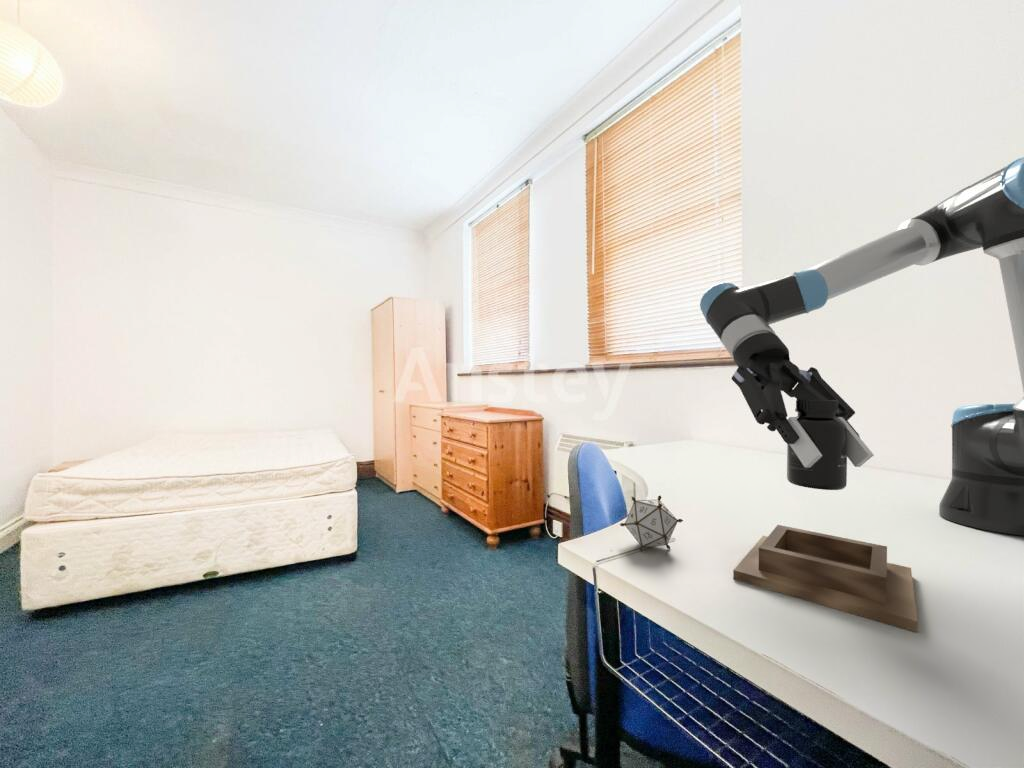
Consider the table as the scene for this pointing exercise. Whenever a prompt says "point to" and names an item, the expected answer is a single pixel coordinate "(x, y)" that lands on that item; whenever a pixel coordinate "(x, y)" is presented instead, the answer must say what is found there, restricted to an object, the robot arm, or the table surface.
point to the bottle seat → (832, 574)
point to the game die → (650, 523)
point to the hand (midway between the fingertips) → (839, 461)
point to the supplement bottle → (820, 446)
